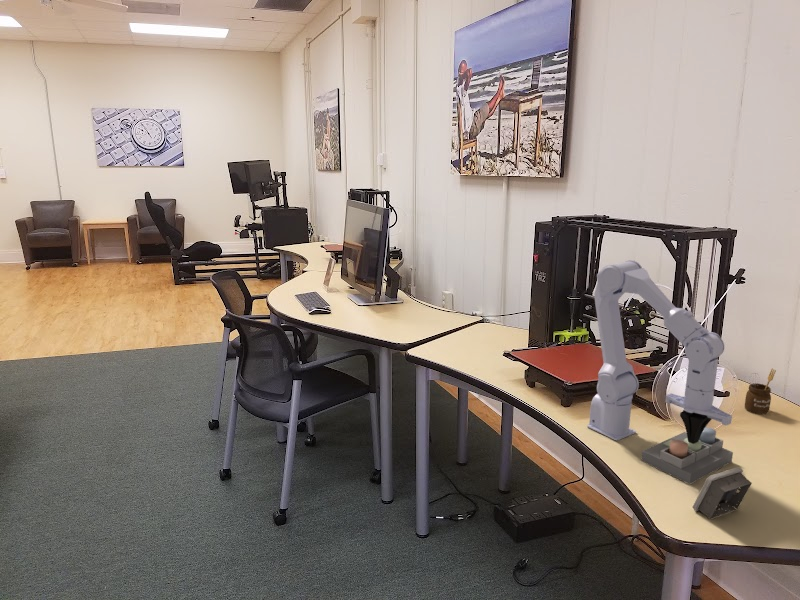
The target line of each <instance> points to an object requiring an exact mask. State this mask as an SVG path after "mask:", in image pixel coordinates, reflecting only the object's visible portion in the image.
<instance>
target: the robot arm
mask: <svg viewBox="0 0 800 600" xmlns="http://www.w3.org/2000/svg"><path fill="white" fill-rule="evenodd" d="M596 281H597V283H596V287H595V290H594V293H593V295H594V304H595V310H596V317H597V324H598V332H599V339H600V347H601V353H602V360H603V365H602V366H601V368H600V370H599V371H598V372H597V373H598V374H597V376H598V377H597V378H598V380H597V384H596V392H597V393H596V394H595V395H594V396H593V397H592V400H591V403H590V407H589V424H587V425H586V427H587V428H588V429H591V430H593V431H595V432H597V433H599V434H602V435H604V436H606V437H608V438H610V439H611V440H613V441H618V442H619V441H620V440H623V439H624V438H627V437H629V436H632V435H634V434H637V430H635V429H633V428H631V427H630V422H631V412H632V402H633V401H632V400H633V398H634V397H633V396H634V394H635V393H636V392H637V391H638V390H639V387H640V384H639V379H638V376H636V374H635V372H634V366H633V365H632V364H631V363H629V362H628V360H627V356H626V349H625V341H624V334H623V327H622V326H623V325H622V319H621V318H622V317H621V311H620V304H619V299H621V297H622V296H623V295H624V294H625V293H629V294H635V295H638V296H639V297H640V298H642V299H643V300H644V301H645V302H646V303H647V304H648V305H650V306H651V307H652V308H653V309H654V310H655V311H656V312H658V313H659V315H660V316H662V318H663V326H664V327H665V328H666V329H667V330H668V331H669V332H670V333H671V334H672V335H673V336H674V337H675V338H676V340H677V341H679V342H680V343H681V345H682V346H683V347H684V353H685V355H686V358H687V359H688V366H687V373H686V381H685V389H684V396H683V395H678V394H674V393H668V394H666V395H665V400H664V401H665V403H666V404H668V405H669V404H671V405H674V406H677V407H679V408H681V409H683V410H682V411H680V413H679V417H680V418H681V420H682V422H683V424H684V427H685V431H686V433H687V438H688V442H690V443H692V444H695V443H697V442H698V441H699V439H700V436H701V434H702V432H703V430H704V428H705V427H708V424H709V423H710V422H711V420H714V421H716V422H719V423H721V425H723V426H729V425H731V424H732V420H733V415H732V414H730V413H727V412H725V411H723V410H722V409H721V408H718V407H717V406H715V405H713V402H714V394H715V387H716V380H717V379H716V378H717V372H718V364H719V357H720V356H721V355H723V353H724V352H725V342H724V340H723V339H722V338H721V336H720V334H718V333H716V332H712V331H709V330H708V328H707V327H704V326H703V325H702V324H701V323H700V322H699V321H698V320H697V319H696V318H694V313H693V312H692V311H691V310H686V309H685V308H681V307H676V306H675V305H674V303H672V301H671V300H670V299H669V298H668V297H667V295H665V293H664V292H663V291H662V290H661V289H660V288H659V287H658V285H657V284H656V282H654V281H653V280H652V278H651V277H650V274H649V272H648V270H647V269H645V268H644V267H642V265H641V264H640V263H639V262H638V261H636V260H632V259H630V260H625V261H623V262H617V263H612V264H611V263H610V264H606V265H605V266H603V267H602V268H601V269H600V271H598V273H597V274H596Z"/></svg>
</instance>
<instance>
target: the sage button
mask: <svg viewBox="0 0 800 600" xmlns="http://www.w3.org/2000/svg"><path fill="white" fill-rule="evenodd" d="M684 442H686V443H687V444H688V449H690V450H692V451H695V452H698V451H700V450H701V446H702V442H701V441H700V440H699V441H698V442H697V443H695V444H692V443H690V442H688V438H685V439H684Z"/></svg>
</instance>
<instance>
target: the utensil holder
mask: <svg viewBox="0 0 800 600" xmlns="http://www.w3.org/2000/svg"><path fill="white" fill-rule="evenodd" d="M776 371H777V370H776V369H773V368H771V369H770V372H769V374H768V376H767V380H768V381H767V383H766V384H763V383H762V384H761V381H760V377H759V374H758V373H757V372H752V375H754V379H756V382H754V381H752V377H749V381H751V382H752V383H750V384H749V385H748V390H747V391H746V394H745V399H744V409H745V410H746V411H748V412H749V413H752V414H757V415H766V414H768V413H769V412H770V409H771V403H772V402H771V401H772V395H771V392H772V389H771V387H770V386H769V384H770V382H771V381H773V380H774V376H775V374H776ZM757 376H758V377H757ZM757 378H758V379H757Z"/></svg>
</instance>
